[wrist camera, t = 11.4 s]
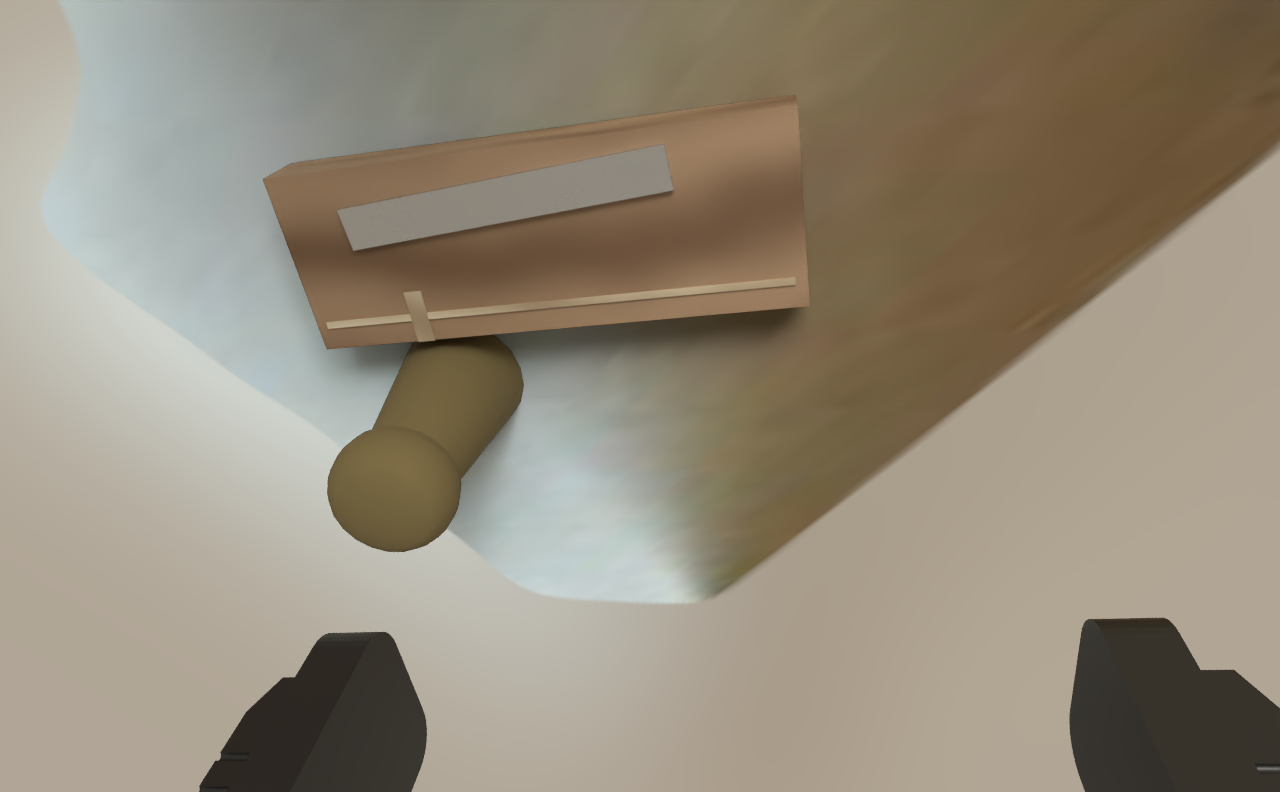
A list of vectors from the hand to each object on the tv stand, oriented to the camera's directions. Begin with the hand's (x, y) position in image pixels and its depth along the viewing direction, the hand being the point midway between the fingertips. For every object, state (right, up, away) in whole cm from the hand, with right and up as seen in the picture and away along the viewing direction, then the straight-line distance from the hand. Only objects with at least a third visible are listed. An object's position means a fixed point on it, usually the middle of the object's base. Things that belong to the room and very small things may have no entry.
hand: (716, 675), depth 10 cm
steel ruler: (-7, +11, +24) cm, 28 cm away
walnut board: (-5, +11, +27) cm, 30 cm away
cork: (-10, +4, +32) cm, 34 cm away
